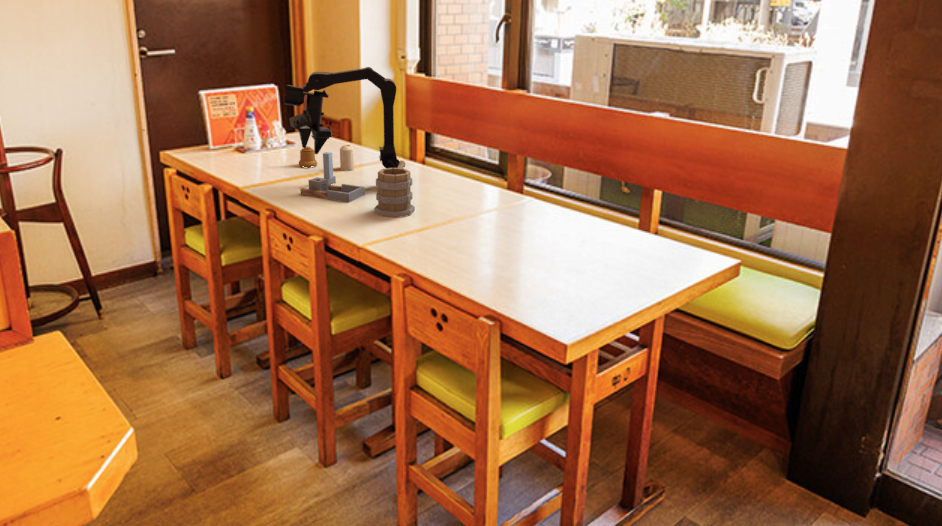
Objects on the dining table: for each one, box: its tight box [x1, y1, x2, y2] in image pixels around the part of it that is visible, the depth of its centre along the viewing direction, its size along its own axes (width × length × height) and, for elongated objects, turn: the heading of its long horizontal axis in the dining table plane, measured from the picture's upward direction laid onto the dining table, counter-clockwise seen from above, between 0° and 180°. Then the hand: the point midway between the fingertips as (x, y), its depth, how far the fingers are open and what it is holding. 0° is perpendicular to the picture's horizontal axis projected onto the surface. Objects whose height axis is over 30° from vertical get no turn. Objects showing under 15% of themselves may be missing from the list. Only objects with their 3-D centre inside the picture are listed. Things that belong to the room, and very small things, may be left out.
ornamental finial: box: [298, 145, 318, 167], centre depth 309 cm, size 8×8×8 cm
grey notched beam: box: [322, 151, 337, 185], centre depth 283 cm, size 2×6×12 cm, turn 157°
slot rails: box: [300, 184, 342, 199], centre depth 273 cm, size 11×10×2 cm
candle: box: [339, 144, 355, 172], centre depth 305 cm, size 6×6×10 cm
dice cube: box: [308, 177, 329, 192], centre depth 272 cm, size 5×5×5 cm
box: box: [326, 183, 366, 203], centre depth 269 cm, size 9×10×3 cm
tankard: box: [373, 160, 416, 218], centre depth 255 cm, size 20×13×15 cm, turn 168°
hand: (309, 150), depth 274 cm, fingers open, 9 cm apart
